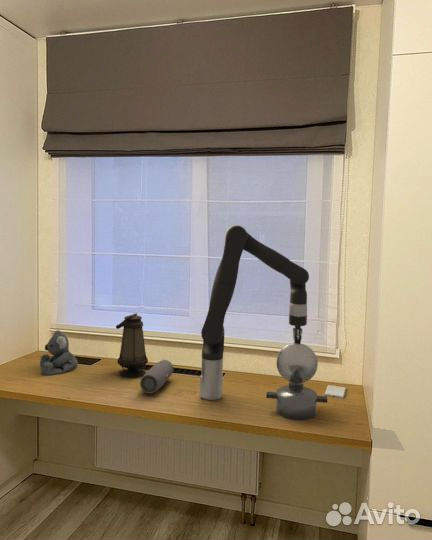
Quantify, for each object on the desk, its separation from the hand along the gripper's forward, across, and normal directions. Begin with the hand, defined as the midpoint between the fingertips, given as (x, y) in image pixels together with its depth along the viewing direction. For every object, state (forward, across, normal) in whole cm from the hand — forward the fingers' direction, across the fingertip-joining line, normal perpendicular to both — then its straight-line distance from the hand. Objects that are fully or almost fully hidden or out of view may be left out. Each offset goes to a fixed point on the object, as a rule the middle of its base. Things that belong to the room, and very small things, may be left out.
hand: (296, 353), depth 191 cm
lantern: (+20, -17, -79) cm, 83 cm away
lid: (+3, +6, 0) cm, 7 cm away
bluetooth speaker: (+20, -1, -62) cm, 65 cm away
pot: (+20, +15, 0) cm, 25 cm away
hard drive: (+21, -10, +18) cm, 30 cm away
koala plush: (+20, -15, -117) cm, 120 cm away
